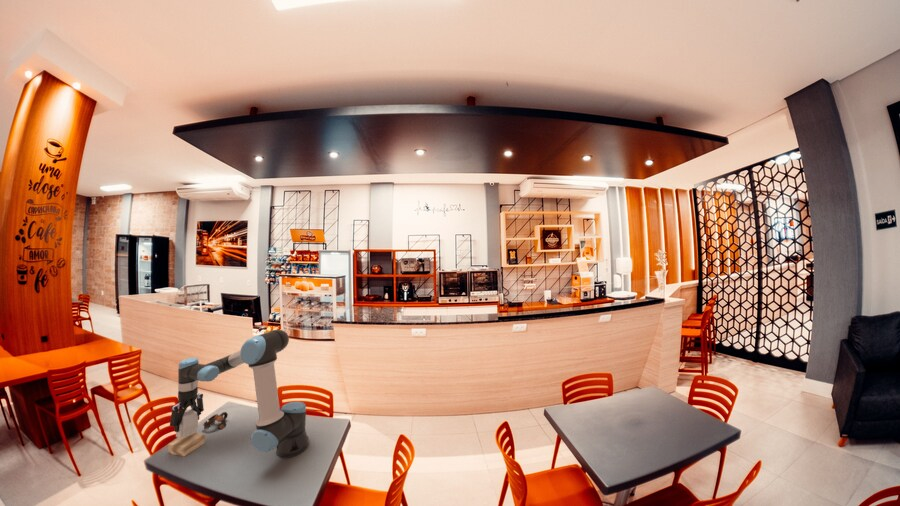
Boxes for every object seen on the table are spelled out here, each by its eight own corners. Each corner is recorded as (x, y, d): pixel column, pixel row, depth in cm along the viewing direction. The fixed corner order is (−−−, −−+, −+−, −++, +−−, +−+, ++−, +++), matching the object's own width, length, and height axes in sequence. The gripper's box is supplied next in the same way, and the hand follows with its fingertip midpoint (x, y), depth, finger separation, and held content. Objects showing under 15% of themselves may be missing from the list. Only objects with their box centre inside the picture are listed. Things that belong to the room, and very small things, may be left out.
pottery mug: (218, 434, 157) (209, 423, 155) (206, 438, 159) (197, 428, 157) (235, 416, 169) (227, 406, 167) (223, 421, 170) (215, 411, 168)
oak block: (204, 443, 149) (205, 434, 149) (184, 457, 139) (184, 447, 139) (189, 440, 151) (189, 431, 151) (168, 453, 141) (168, 444, 141)
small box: (197, 432, 145) (197, 412, 145) (183, 438, 141) (183, 418, 140) (191, 426, 149) (191, 407, 149) (177, 432, 145) (177, 412, 144)
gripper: (202, 379, 155) (201, 419, 155) (159, 397, 135) (158, 443, 136) (213, 380, 154) (212, 421, 154) (171, 399, 134) (170, 446, 135)
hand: (187, 431), depth 145 cm, fingers closed on small box, 7 cm apart
